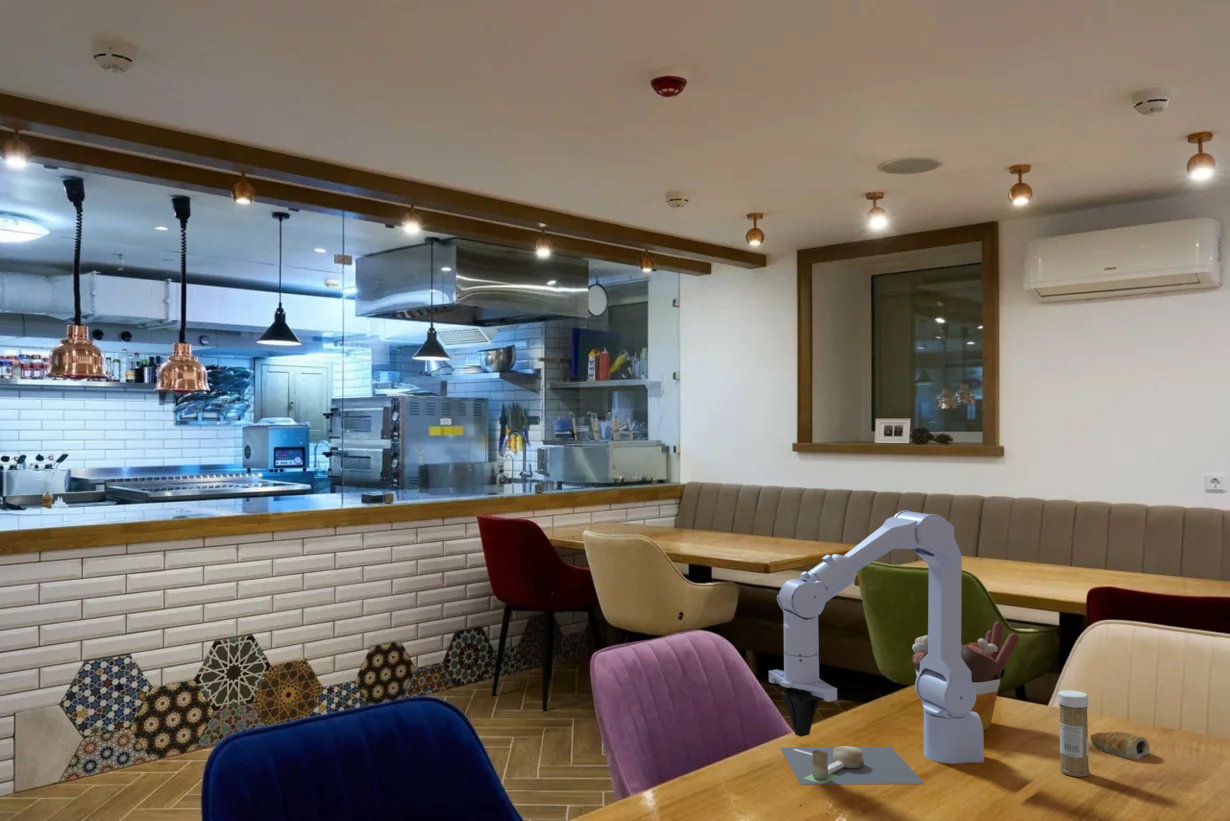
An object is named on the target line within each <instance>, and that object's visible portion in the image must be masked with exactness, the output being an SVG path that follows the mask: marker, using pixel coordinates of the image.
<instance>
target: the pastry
mask: <svg viewBox="0 0 1230 821" xmlns="http://www.w3.org/2000/svg"><path fill="white" fill-rule="evenodd" d="M1089 739H1090V741H1091V744H1092V746H1093V747H1094V746H1095V747H1094V748H1096V747H1097V749H1098V748H1100V749H1101V751H1102V750H1103V751H1102V752H1104V753H1106V752H1107V753H1106V754H1109V755H1112V754H1113V755H1114V756H1115V755H1116V756H1115V757H1118V756H1120V757H1119V758H1122V757H1123V758H1122V759H1125V758H1127V760H1130V759H1136V760H1139V759H1141V758H1143V757H1145V756H1147V755H1148V754H1150V751H1151V750H1150V749H1151V748H1150V744H1149V742H1148V741H1147V739H1146V738H1145V737H1144V736H1139V735H1134V734H1132V733H1128V732H1126V731H1120V732H1119V731H1112V732H1111V731H1109V732H1108V731H1107V732H1096V733H1092V734H1091V735H1090V736H1089ZM1100 749H1099V750H1100ZM1140 757H1141V758H1140ZM1138 758H1139V759H1138Z"/></svg>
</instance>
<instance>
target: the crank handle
mask: <svg viewBox="0 0 1230 821" xmlns="http://www.w3.org/2000/svg"><path fill="white" fill-rule="evenodd" d="M835 747H836V748H834V749H833V762H834V763H832V764H830V765H828V753H827V752H826V751H822V750H815V751H813V777H815V778H818V779H825V778H827V777H828V774H830V773H832V772H834V771H836V770H838V769H840V768H842V767H845V768H858V767H861V766H863V765H864V752H863V750H861V749H859V748H856V747H857V746H850V745H842V746H835Z"/></svg>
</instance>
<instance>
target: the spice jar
mask: <svg viewBox="0 0 1230 821" xmlns="http://www.w3.org/2000/svg"><path fill="white" fill-rule="evenodd" d="M1057 695H1058V706H1059V752H1060V766H1059V770H1060V772H1061V773H1063V774H1065V775H1068V776H1070V777H1074V778H1075V777H1077V778H1083V777H1084V778H1085V777H1088V776H1089V774H1090V769H1089V764H1090V763H1089V755H1090V750H1089V748H1090V746H1089V736H1088V735H1089V733H1088V732H1089V730H1088V729H1089V728H1088V726H1089V724H1088V722H1089V721H1088V720H1089V719H1088V706H1089V696H1088V694H1087V693H1085V692H1082V691H1078V690H1070V689H1069V690H1067V689H1065V690H1061V691H1059V692H1058V694H1057Z"/></svg>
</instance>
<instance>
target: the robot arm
mask: <svg viewBox="0 0 1230 821" xmlns="http://www.w3.org/2000/svg"><path fill="white" fill-rule="evenodd" d="M892 550H893V551H894V550H910V551H912V552H914V553H915V554H916V555H917V556H919V558H921V559H922V560H923V561H924V562H925V563H926V564H927V565H928V608H927V609H928V612H927V613H928V616H927V618H928V619H927V622H928V624H927V627H928V628H927V635H928V654H927V655H926V656H925V657H924V658H923V659H922V660H921V661H920V671H919V674H918V676H917V675H916V678H915V683H914V689H915V693H916V695H917V696H918V698H919V699H920V700H921V703H922V704H921V705H922V707H923V754H924V757H925V758H926V759H928V760H930V761H933V762H937V763H939V764H940V763H941V764H948V765H949V764H950V765H951V764H952V765H953V764H955V765H956V764H965V763H984V762H985V761H984V760H985V759H984V758H985V757H984V756H985V755H984V752H985V751H984V749H985V747H984V746H985V745H984V742H985V741H984V731H983V726H982V722H981V719H980V717H979V715H978V714H977V713H976V712H971V710H972V708H973V707H974V705H975V702H976V692H975V689H974V686H973V684H972V679H971V671H970V670H969V668H968V667H967V665H966V664H965V662H964V661H963V659H962V658H961V644H962V588H963V587H962V584H963V583H962V578H963V577H962V575H963V574H962V573H963V572H962V571H963V568H962V564H963V562H962V561H963V557H962V553H961V550H960V548H959V545H958V543H957V541H956V538H955V526H954V525H953V524H952V523H950V522H949V521H948V520H947V519H946V518H945V517H943V516H941V515H939V514H936V513H935V514H934V513H923V512H915V511H912V510H906V509H905V510H901V511H898V512H897V513H895V515H894V516H891V517H889V518H887V519H886V520H884V522H883V524H882V525H881V526H880V527H879V528H878V529H875V531H873V532H872V533H871V534H870V535H868V536H867V537H865V539H863V540H862V541H861V542H859V543H858V544H857V545H855V546H854V547H853V548H852V549H850V550H849V551H848V552H847V553H846V554H844V555H842V554H837V553H833V554H832V555H830V554H826V555H824V556H822V557H821V560H822V562H820V563H819V564H817V565H816V566H814V567H813V568H810V570H808V571H803V572H802V573H800V577H799V579H797V578H796V579H793V578H792V579H789V580H787V581H786V582H784V583H783V585H782V586H781V588H780V590H779V593H778V594H777V595H776V600H777V604H778V606H779V608H780V609H782V610H781V611H782V612H783V670H780V669H773V670H768V682H769V683H771V684H778V685H780V686H781V687H784V688H785V690H784V691H781V692H780V697H781V699H782V700H783V702H784V704H785V706H786V709H787V710H788V714H789V716H790V720H791V724H792V727H793V730H794V735H795V736H797V737H806V736H810V733H811V729H812V725H813V721H814V717H815V715H816V713H817V712H816V711H817V710H818V708H819V705H820V703H822V700H824V701H825V702H833V701H838V688H837V687H834V686H832V685H830V684H829V683H827V682H825V680H822V679H821V678H820V658H819V657H820V655H819V654H820V653H819V651H820V650H819V649H820V648H819V646H820V645H819V616H820V615H821V614H822V612H823V611H824V609H825V606H826V603H827V602H828V601H830V600H831V599H833V598H834V597H835V596H837V595H838V594H840V593H841V592H842V591H843V590H845V589H847V588H848V587H849V586H851V585H852V584H854V583H855V581H856V576H857V572H859V571H860V570H862V569H864V568H865V567H866V566H868V565H870V564H872V563H873V562H875V561H876V560H879V559H880V558H881V557H883V556H884V555H886V554H888V553H890V552H891V551H892Z"/></svg>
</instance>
